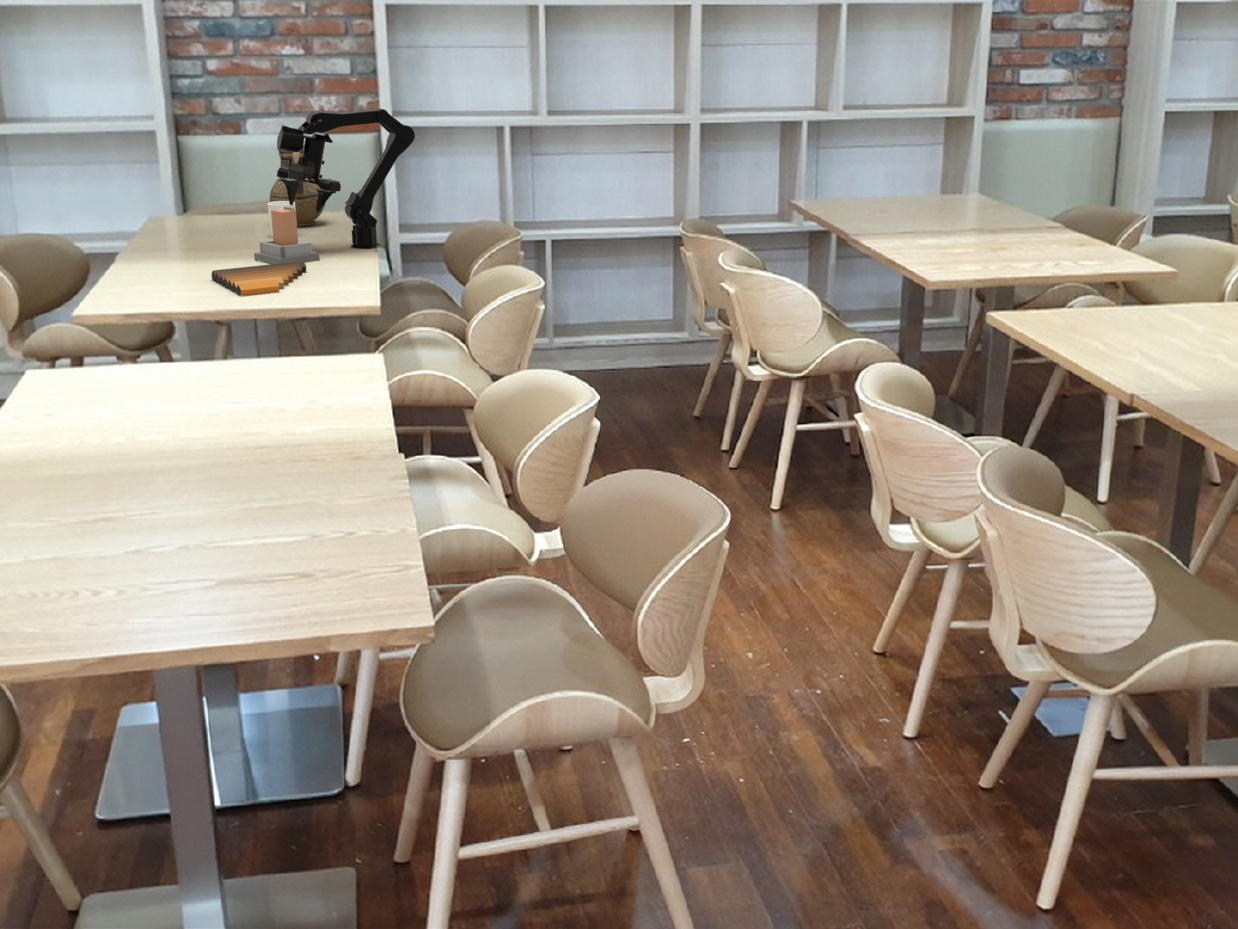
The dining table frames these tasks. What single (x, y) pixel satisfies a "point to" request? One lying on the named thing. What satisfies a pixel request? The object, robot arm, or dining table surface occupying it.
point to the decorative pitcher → (304, 194)
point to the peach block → (284, 226)
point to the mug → (276, 206)
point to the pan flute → (259, 277)
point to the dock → (285, 253)
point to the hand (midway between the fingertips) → (304, 208)
